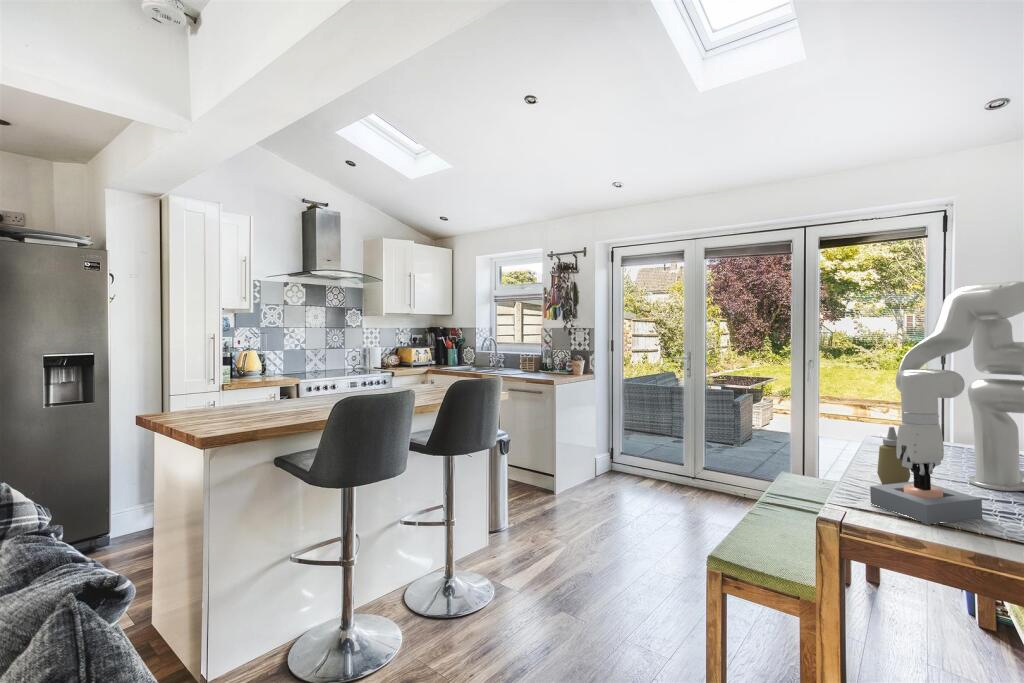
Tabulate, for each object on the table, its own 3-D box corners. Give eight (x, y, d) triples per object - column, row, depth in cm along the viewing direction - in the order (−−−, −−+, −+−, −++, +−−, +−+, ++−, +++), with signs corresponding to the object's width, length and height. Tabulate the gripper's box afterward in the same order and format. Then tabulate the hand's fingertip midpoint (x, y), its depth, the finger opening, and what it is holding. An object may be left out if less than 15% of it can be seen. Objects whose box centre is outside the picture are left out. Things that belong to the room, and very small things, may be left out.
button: (922, 501, 135) (921, 482, 135) (952, 511, 128) (951, 491, 128) (896, 504, 134) (895, 485, 134) (925, 514, 126) (924, 494, 126)
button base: (920, 498, 140) (919, 480, 140) (982, 518, 124) (981, 498, 124) (870, 504, 138) (870, 486, 138) (927, 525, 122) (926, 505, 122)
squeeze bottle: (897, 491, 146) (895, 430, 146) (871, 484, 154) (868, 426, 154) (918, 488, 149) (915, 428, 148) (890, 481, 156) (888, 423, 156)
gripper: (930, 415, 135) (932, 482, 136) (882, 418, 133) (884, 487, 133) (958, 419, 128) (961, 490, 128) (908, 423, 126) (911, 495, 126)
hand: (922, 488), depth 131 cm, fingers closed
